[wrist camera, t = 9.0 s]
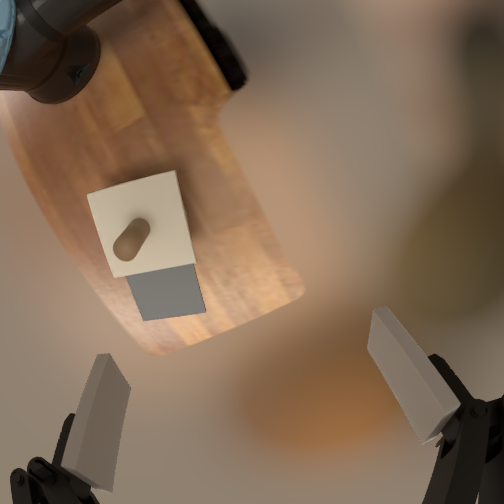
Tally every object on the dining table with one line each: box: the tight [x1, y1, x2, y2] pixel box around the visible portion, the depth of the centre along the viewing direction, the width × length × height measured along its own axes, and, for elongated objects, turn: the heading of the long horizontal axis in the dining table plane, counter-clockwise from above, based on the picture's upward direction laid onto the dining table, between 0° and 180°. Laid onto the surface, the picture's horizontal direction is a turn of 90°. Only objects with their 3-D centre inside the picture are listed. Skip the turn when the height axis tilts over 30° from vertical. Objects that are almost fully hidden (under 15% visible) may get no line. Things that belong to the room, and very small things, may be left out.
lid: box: [87, 170, 197, 278], centre depth 33 cm, size 13×13×8 cm
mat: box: [126, 263, 206, 321], centre depth 49 cm, size 13×13×1 cm
